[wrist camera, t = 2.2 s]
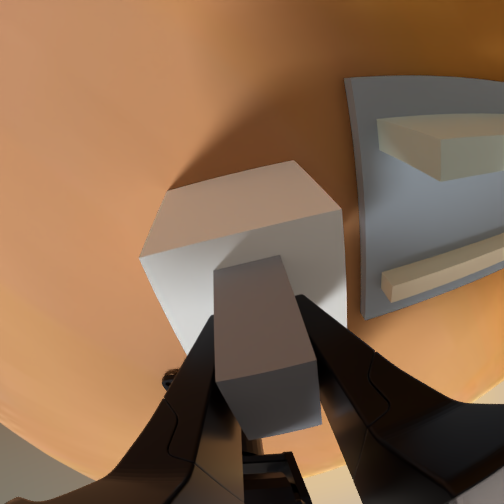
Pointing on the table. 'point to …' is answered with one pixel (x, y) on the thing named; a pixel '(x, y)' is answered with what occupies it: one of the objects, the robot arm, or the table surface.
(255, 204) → the block with grey handle
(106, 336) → the table surface
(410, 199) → the cleat board
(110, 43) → the table surface
